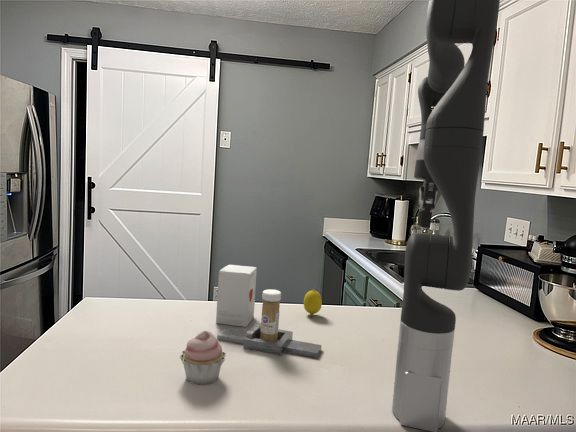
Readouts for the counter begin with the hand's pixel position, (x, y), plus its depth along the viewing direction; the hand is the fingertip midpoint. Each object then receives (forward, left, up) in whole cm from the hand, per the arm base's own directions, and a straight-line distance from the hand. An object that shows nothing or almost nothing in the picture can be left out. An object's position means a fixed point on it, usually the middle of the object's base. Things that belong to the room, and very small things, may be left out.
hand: (423, 226), depth 101 cm
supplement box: (0, +48, -32) cm, 58 cm away
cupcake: (-33, +41, -32) cm, 61 cm away
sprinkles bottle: (-12, +34, -32) cm, 48 cm away
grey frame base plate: (-12, +34, -32) cm, 48 cm away
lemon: (+14, +29, -32) cm, 45 cm away
